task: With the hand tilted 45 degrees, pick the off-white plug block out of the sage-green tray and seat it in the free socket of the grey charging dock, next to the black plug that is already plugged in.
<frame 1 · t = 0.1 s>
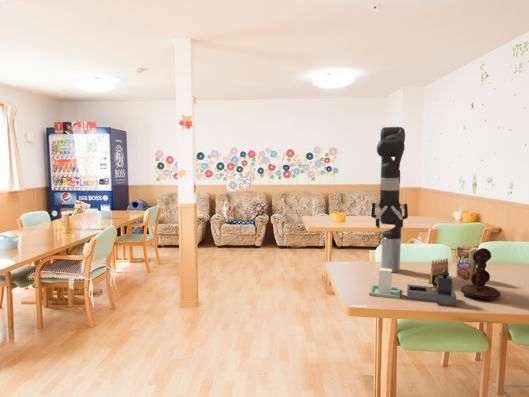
hand: (389, 228, 164), 29 cm above the table, tool pointing down, fingers open, 8 cm apart
candy box: (465, 279, 194), on the table
grey charging dock: (430, 299, 164), on the table
ammunition clip: (438, 284, 185), on the table
plug: (384, 292, 170), point 1 cm above the table, touching tray
tray: (384, 294, 170), on the table
turned wooden stand: (479, 296, 169), on the table
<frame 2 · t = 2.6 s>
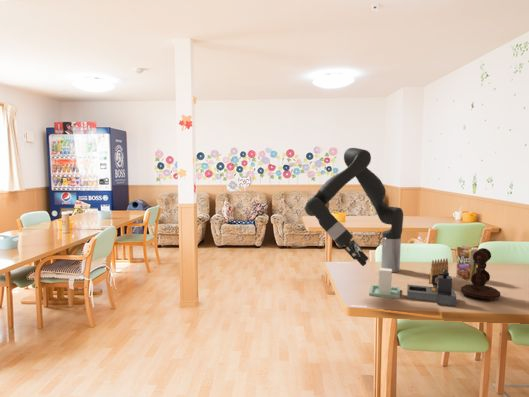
hand: (365, 262, 171), 13 cm above the table, tool tilted 45°, fingers open, 8 cm apart
nothing on the table moved.
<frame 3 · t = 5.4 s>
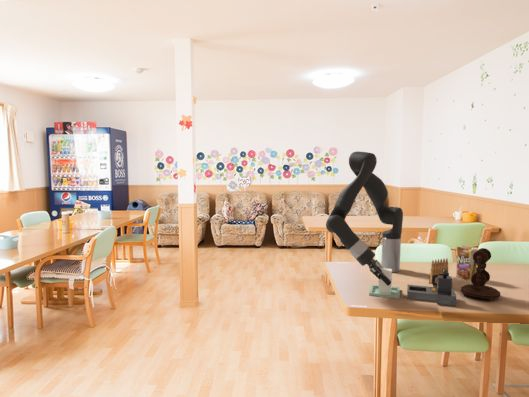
hand: (389, 282, 169), 6 cm above the table, tool tilted 45°, fingers closed on plug, 4 cm apart
plug: (384, 292, 170), point 1 cm above the table, touching gripper, tray
everything else where it was.
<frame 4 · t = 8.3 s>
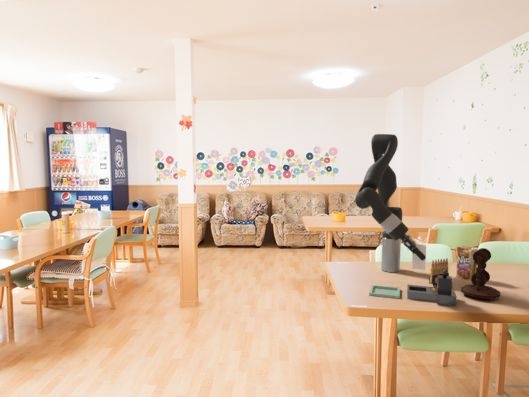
hand: (423, 257, 163), 17 cm above the table, tool tilted 45°, fingers closed on plug, 4 cm apart
plug: (418, 268, 164), point 13 cm above the table, touching gripper
everything else where it was.
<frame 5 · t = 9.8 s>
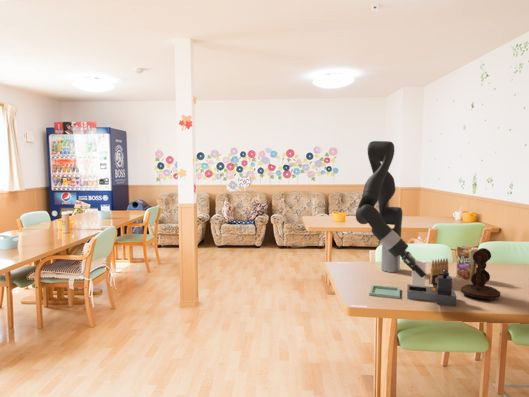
hand: (423, 274, 164), 10 cm above the table, tool tilted 45°, fingers closed on plug, 4 cm apart
plug: (417, 284, 165), point 6 cm above the table, touching gripper
everything else where it was.
when the fingers open (6 cm above the table, at t = 11.1 s): plug stays where it is, resting on grey charging dock.
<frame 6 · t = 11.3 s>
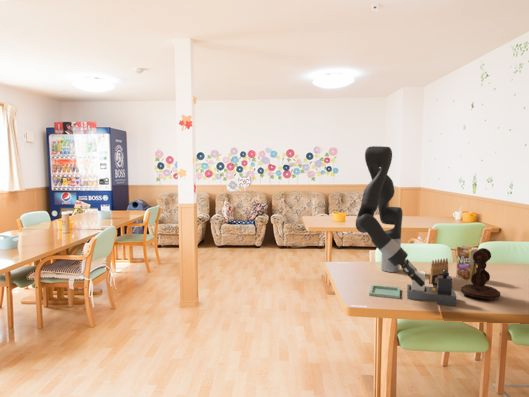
hand: (422, 283, 164), 7 cm above the table, tool tilted 45°, fingers open, 5 cm apart
plug: (417, 296, 166), point 1 cm above the table, touching grey charging dock
everything else where it was.
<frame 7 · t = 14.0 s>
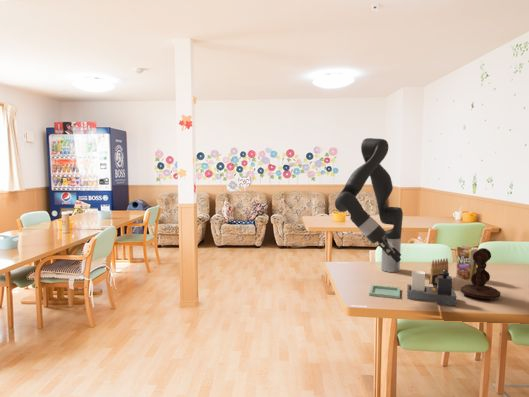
hand: (399, 258, 167), 16 cm above the table, tool tilted 45°, fingers open, 8 cm apart
nothing on the table moved.
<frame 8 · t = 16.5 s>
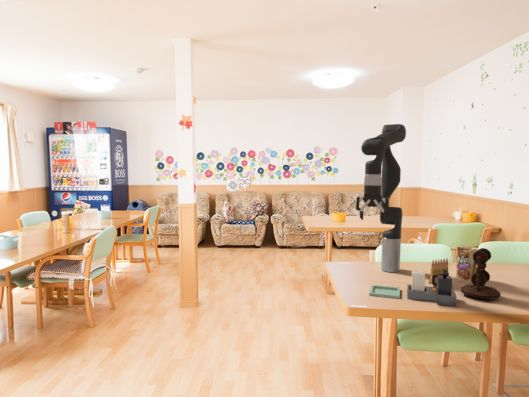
hand: (371, 220, 181), 30 cm above the table, tool pointing down, fingers open, 8 cm apart
nothing on the table moved.
at the end: plug 0.0 cm from the target spot on the grey charging dock, point 1.0 cm above the grey charging dock's base; plug tilted 0°; the gripper is holding nothing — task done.
